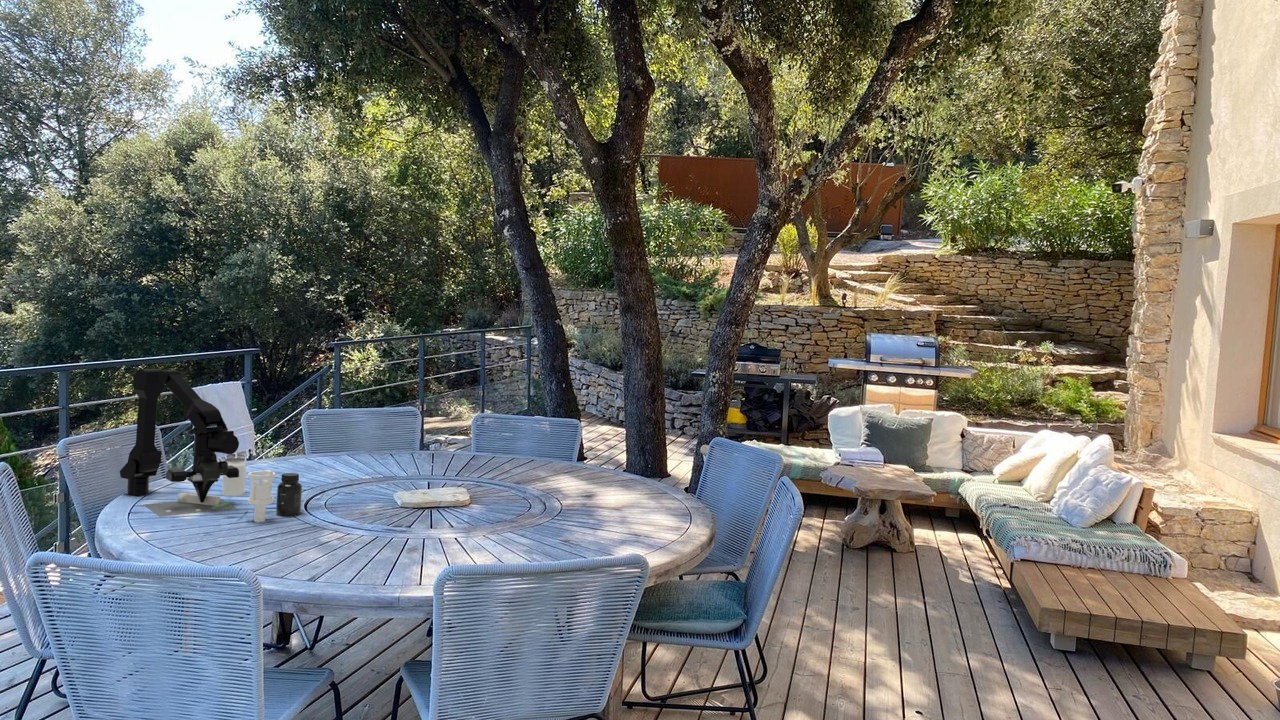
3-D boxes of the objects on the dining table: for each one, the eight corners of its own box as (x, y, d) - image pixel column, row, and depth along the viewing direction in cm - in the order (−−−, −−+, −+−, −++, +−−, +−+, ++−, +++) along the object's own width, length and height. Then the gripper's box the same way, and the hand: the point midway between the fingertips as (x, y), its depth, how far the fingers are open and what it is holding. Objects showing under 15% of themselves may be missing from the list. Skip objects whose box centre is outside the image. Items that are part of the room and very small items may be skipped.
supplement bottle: (270, 514, 254) (272, 474, 253) (288, 509, 260) (289, 471, 260) (288, 517, 252) (290, 477, 251) (305, 513, 258) (307, 474, 257)
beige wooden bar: (175, 502, 255) (175, 494, 255) (182, 499, 258) (183, 492, 258) (214, 506, 254) (214, 498, 253) (220, 504, 257) (221, 496, 257)
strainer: (259, 525, 242) (262, 472, 241) (240, 521, 244) (242, 469, 243) (278, 520, 248) (280, 469, 247) (259, 516, 251) (261, 466, 250)
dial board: (142, 507, 251) (143, 502, 251) (218, 500, 266) (218, 495, 265) (159, 519, 239) (159, 514, 239) (237, 511, 254) (237, 506, 254)
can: (235, 500, 268) (237, 462, 267) (217, 497, 269) (219, 460, 268) (248, 495, 274) (250, 459, 273) (231, 493, 275) (232, 456, 275)
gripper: (179, 456, 241) (176, 511, 241) (247, 452, 254) (244, 504, 254) (166, 450, 248) (164, 503, 249) (233, 446, 262) (230, 497, 262)
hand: (201, 502), depth 254 cm, fingers closed
